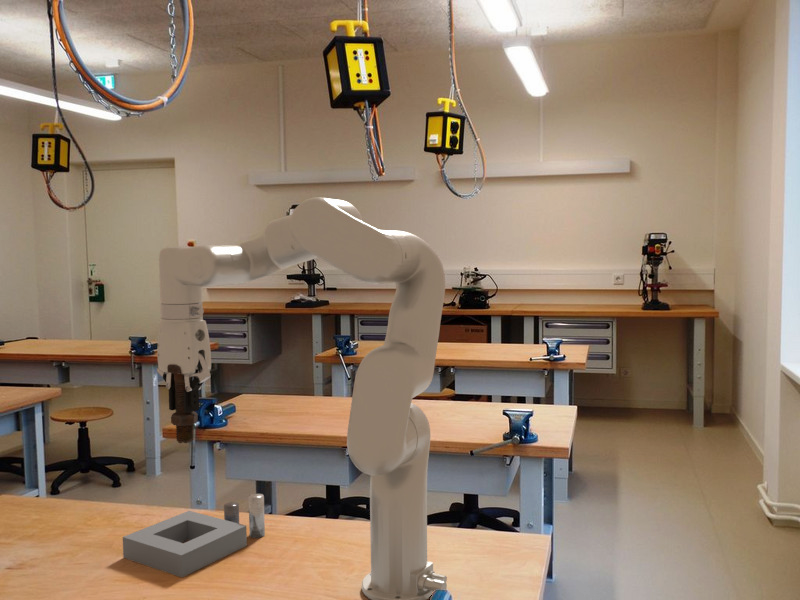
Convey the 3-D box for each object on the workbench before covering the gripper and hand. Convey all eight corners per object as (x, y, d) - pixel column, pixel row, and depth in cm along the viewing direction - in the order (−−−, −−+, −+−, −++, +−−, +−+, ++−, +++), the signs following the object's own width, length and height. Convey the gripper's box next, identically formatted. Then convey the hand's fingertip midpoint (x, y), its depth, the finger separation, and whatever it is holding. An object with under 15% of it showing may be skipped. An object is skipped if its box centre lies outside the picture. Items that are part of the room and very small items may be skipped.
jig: (246, 545, 141) (246, 525, 140) (182, 577, 127) (181, 555, 127) (189, 529, 149) (189, 510, 149) (123, 557, 136) (122, 536, 136)
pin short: (242, 527, 150) (241, 503, 150) (232, 532, 148) (231, 508, 147) (232, 524, 152) (231, 501, 152) (221, 529, 149) (220, 505, 149)
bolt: (163, 443, 136) (161, 363, 135) (183, 436, 140) (181, 360, 139) (186, 446, 133) (184, 365, 132) (206, 440, 138) (204, 362, 137)
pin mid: (267, 534, 147) (267, 495, 146) (257, 539, 144) (256, 499, 143) (256, 531, 148) (255, 492, 148) (246, 536, 146) (245, 497, 145)
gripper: (228, 313, 134) (230, 411, 135) (168, 309, 143) (170, 401, 144) (197, 316, 128) (199, 419, 129) (135, 312, 136) (138, 409, 138)
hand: (184, 409), depth 136 cm, fingers closed on bolt, 3 cm apart
